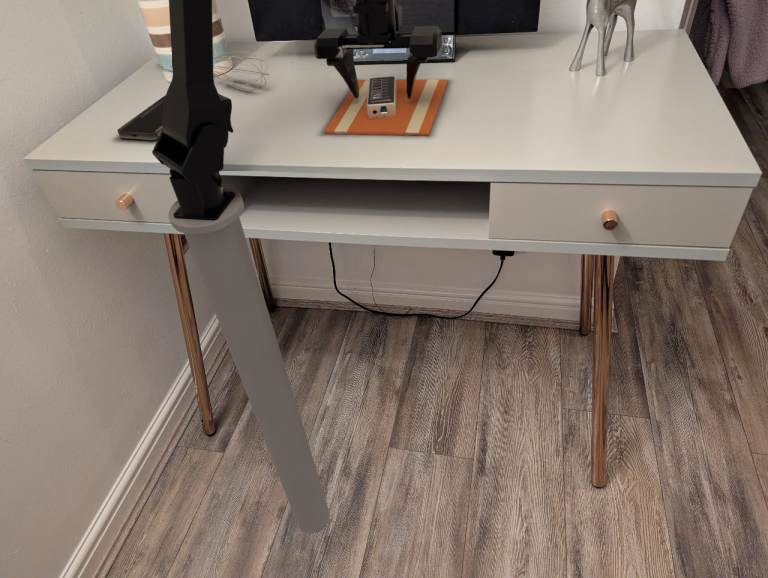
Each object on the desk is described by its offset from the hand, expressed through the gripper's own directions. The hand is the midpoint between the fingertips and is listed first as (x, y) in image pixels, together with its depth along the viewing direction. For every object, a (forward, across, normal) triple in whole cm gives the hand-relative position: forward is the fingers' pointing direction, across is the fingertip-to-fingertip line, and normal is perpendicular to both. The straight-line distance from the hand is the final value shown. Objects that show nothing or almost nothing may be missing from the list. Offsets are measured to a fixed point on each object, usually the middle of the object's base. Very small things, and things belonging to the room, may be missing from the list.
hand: (383, 97), depth 92 cm
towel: (+1, -1, 0) cm, 2 cm away
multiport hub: (+1, 0, 0) cm, 1 cm away
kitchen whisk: (+2, +37, -12) cm, 39 cm away
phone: (+2, +37, +6) cm, 38 cm away
